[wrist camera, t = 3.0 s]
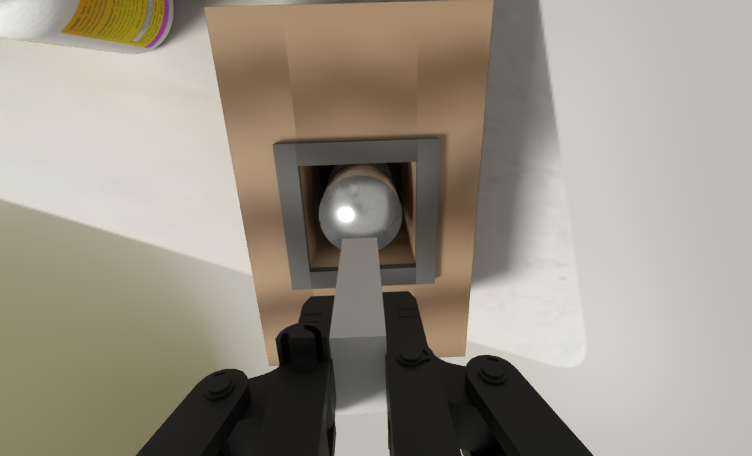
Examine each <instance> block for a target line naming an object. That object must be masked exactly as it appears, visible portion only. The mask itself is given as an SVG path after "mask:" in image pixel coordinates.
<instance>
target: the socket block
mask: <svg viewBox="0 0 752 456" xmlns="http://www.w3.org/2000/svg"><path fill="white" fill-rule="evenodd" d="M493 2H494V0H448V1H410V2H373V3H336V4H298V5H261V6H224V7H204V9H205V14H206V20H207V26H208V31H209V37H210V42H211V48H212V53H213V59H214V64H215V70H216V75H217V81H218V86H219V92H220V97H221V103H222V108H223V114H224V119H225V125H226V130H227V136H228V141H229V147H230V152H231V158H232V164H233V169H234V175H235V180H236V186H237V191H238V197H239V202H240V208H241V213H242V219H243V224H244V230H245V235H246V241H247V246H248V252H249V257H250V263H251V268H252V274H253V279H254V285H255V290H256V295H257V302H258V307H259V312H260V318H261V324H262V329H263V334H264V340H265V345H266V351H267V356H268V362H269V366H279V359H278V353H277V347H276V341H275V339H276V337H277V335H278V334H279V333H280V332H281V331H282V330H283V329H285V328H286V327H288V326H291V325H293V324H296V323H298V321H299V317H300V313H301V310H302V306H303V304H304V303H305V302H306V301H307V300H308V299H309V298H310V297H311V296H330V295H335V290H336V283H337V275H338V268H339V260H340V253H341V249H339V248H338V247H336V246H335V245H333V244H332V243H331V242H330V241H329V240H328V239H327V237H326V236H325V234H324V233H323V231H322V229H321V226H320V222H319V207H320V203H321V190H320V179H319V167H318V165H341V164H368V163H395V162H402V222H401V226H400V229H399V231H398V233H397V235H396V236H395V238H394V239H393V240H392V241H391V242H390V243H389V244H388V245H387V246H385V247H383V248H382V249H380V250H378V254H379V265H380V275H381V286H382V292H397V291H409V292H410V293H411V294H412V295H413V296H414V297H415V298H416V300H417V304H418V309H419V312H420V317H421V320H422V324H423V328H424V332H425V336H426V340H427V344H428V347H429V348H430V349H431V350H432V351H433V353H434V355H435V356H436V357H438V358H440V357H458V356H459V357H460V356H465V350H466V338H467V325H468V313H469V300H470V288H471V275H472V263H473V250H474V238H475V226H476V213H477V201H478V188H479V176H480V163H481V151H482V139H483V126H484V114H485V101H486V89H487V76H488V64H489V51H490V39H491V27H492V14H493Z"/></svg>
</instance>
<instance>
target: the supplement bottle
mask: <svg viewBox="0 0 752 456" xmlns="http://www.w3.org/2000/svg"><path fill="white" fill-rule="evenodd" d="M172 21H173V0H0V37H3V38H7V39H14V40H21V41H29V42H38V43H46V44H53V45H61V46H69V47H77V48H84V49H92V50H99V51H107V52H115V53H122V54H140V53H145V52H148V51H150V50H152V49H154V48H156V47H157V46H158V45H160V44H161V43H162V42H163V41H164V39H165V38H166V36H167V35H168V33H169V31H170V28H171V25H172Z"/></svg>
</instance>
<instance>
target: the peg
mask: <svg viewBox="0 0 752 456" xmlns="http://www.w3.org/2000/svg"><path fill="white" fill-rule="evenodd" d="M319 222H320V226H321V229H322V231H323V233H324V234H325V236H326V237H327V239H328V240H329V241H330V242H331V243H332V244H333V245H335V246H336V247H338V248H339V249H341V245H342V239H352V238H376V237H377V244H378V250H380V249H382V248H383V247H385V246H387V245H388V244H389V243H390V242H391V241H392V240H393V239H394V238H395V236H396V235H397V233H398V231H399V229H400V226H401V222H402V208H401V204H400V201H399V198H398V194H397V191H396V188H395V185H394V182H393V179H392V176H391V173H390V170H389V168H388V166H387V165H386V163H368V164H341V165H335V166H334V167H333V169H332V172H331V175H330V177H329V180H328V183H327V186H326V189H325V192H324V195H323V197H322V200H321V203H320V207H319Z"/></svg>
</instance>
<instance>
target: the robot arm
mask: <svg viewBox="0 0 752 456" xmlns="http://www.w3.org/2000/svg"><path fill="white" fill-rule="evenodd" d="M275 341H276V347H277V353H278V359H279V367H278V368H277V369H275V370H273V371H271V372H269V373H266V374H264V375H260V376H257V377H253V378H250V379H248V378H247V376H246V375H245V374H244V372H243V371H240V370H237V369H224V370H220V371H217V372H214V373H212V374H210V375H208V376H206V377H205V378H204V379H202V380H201V381H200V382H199V383H198V384H197V385H196V386H195V387H194V388H193V389H192V391H191V392H190V393H189V394H188V395H187V396H186V398H185V399H184V400H183V401H182V402H181V403H180V405H179V406H178V407H177V408H176V409H175V410H174V412H173V413H172V414H171V415H170V416H169V417H168V419H167V420H166V421H165V422H164V423H163V424H162V426H161V427H160V428H159V429H158V430H157V431H156V433H155V434H154V435H153V436H152V437H151V438H150V440H149V441H148V442H147V443H146V444H145V445H144V447H143V448H142V449H141V450H140V451H139V452H138V454H137V455H136V456H334V453H335V438H336V427H335V410H336V414H337V415H346V414H365V413H385V412H387V413H388V447H389V450H390V456H462V455H461V452H460V449H461V450H462V454H463V455H464V456H593V455H592V453H591V452H590V451H589V450H588V449H587V448H586V447H585V446H584V444H583V443H582V442H581V441H580V440H579V439H578V438H577V437H576V435H575V434H574V433H573V432H572V431H571V430H570V429H569V428H568V426H567V425H566V424H565V423H564V422H563V421H562V420H561V419H560V418H559V416H558V415H557V414H556V413H555V412H554V411H553V410H552V408H551V407H550V406H549V405H548V404H547V403H546V401H545V400H544V399H543V398H542V397H541V396H540V395H539V394H538V392H537V391H536V390H535V389H534V388H533V387H532V386H531V385H530V384H529V382H528V381H527V380H526V379H525V378H524V377H523V376H522V374H521V373H520V372H519V371H518V370H517V369H516V368H515V367H514V366H513V365H512V364H511V363H509V362H508V361H506V360H504V359H502V358H500V357H497V356H491V355H482V356H481V355H480V356H477V357H475V358H472V359H471V360H470V361H469V362H468V363H467V365H466V366H460V365H456V364H451V363H448V362H445V361H443V360H441V359H439V358H438V357H436V356H435V355H434V353H433V351H432V350H431V349H430V348H429V347H428V344H427V340H426V336H425V332H424V328H423V324H422V320H421V317H420V312H419V309H418V304H417V300H416V298H415V297H414V296H413V295H412V294H411V293H410V292H409V291H397V292H382V286H381V275H380V265H379V254H378V244H377V237H376V238H352V239H342V245H341V253H340V260H339V268H338V275H337V283H336V290H335V295H330V296H311V297H310V298H309V299H308V300H307V301H306V302H305V303H304V304H303V306H302V310H301V313H300V317H299V321H298V323H296V324H293V325H291V326H288V327H286V328H285V329H283V330H282V331H281V332H280V333H279V334H278V335H277V337H276V339H275Z"/></svg>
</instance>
